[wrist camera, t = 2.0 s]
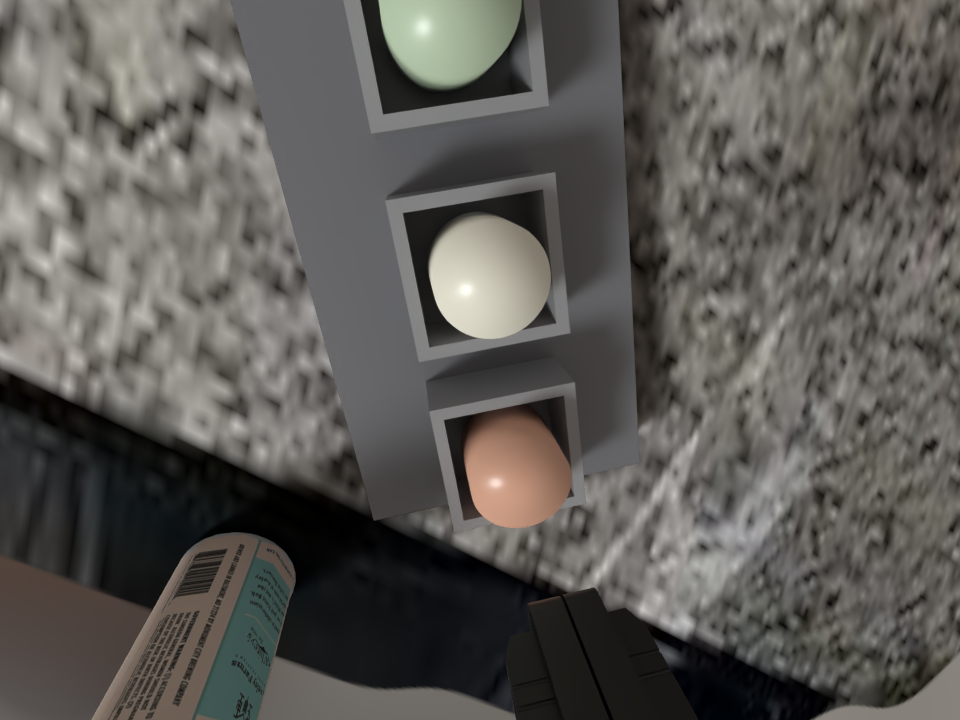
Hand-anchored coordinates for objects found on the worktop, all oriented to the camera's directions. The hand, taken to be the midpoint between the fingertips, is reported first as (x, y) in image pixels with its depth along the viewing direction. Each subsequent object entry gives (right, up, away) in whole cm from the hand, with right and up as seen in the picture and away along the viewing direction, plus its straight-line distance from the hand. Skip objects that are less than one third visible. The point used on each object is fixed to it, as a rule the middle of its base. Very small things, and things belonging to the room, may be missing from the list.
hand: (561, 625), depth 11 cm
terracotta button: (-1, +3, +8) cm, 8 cm away
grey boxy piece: (-2, +10, +8) cm, 13 cm away
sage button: (-3, +15, +3) cm, 15 cm away
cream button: (-2, +9, +5) cm, 10 cm away
